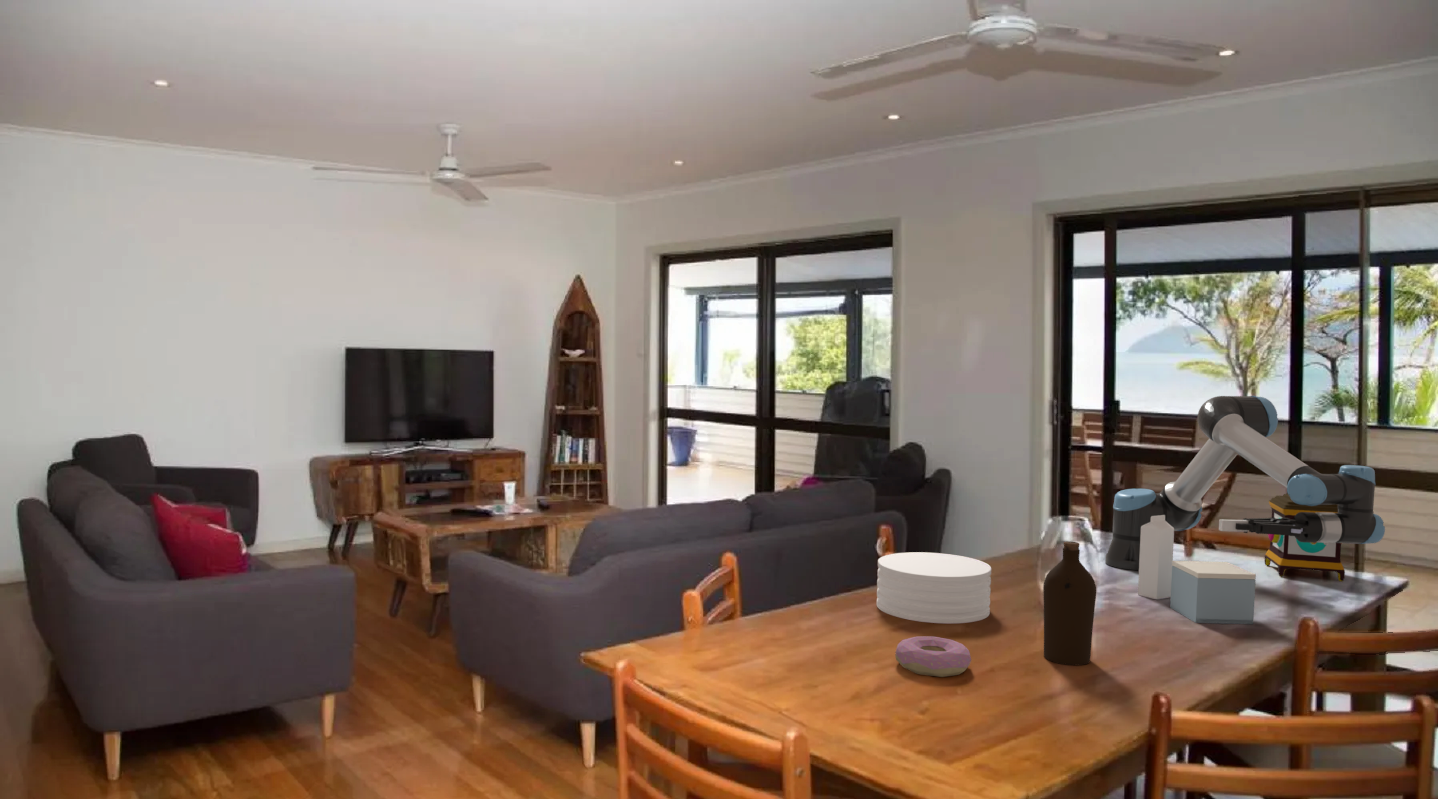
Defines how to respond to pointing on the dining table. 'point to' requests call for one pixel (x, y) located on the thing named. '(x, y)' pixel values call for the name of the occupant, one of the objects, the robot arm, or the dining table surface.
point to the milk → (1156, 558)
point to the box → (1212, 598)
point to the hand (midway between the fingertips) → (1220, 525)
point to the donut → (933, 656)
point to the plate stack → (934, 587)
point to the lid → (1213, 570)
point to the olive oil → (1069, 609)
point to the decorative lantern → (1297, 553)
